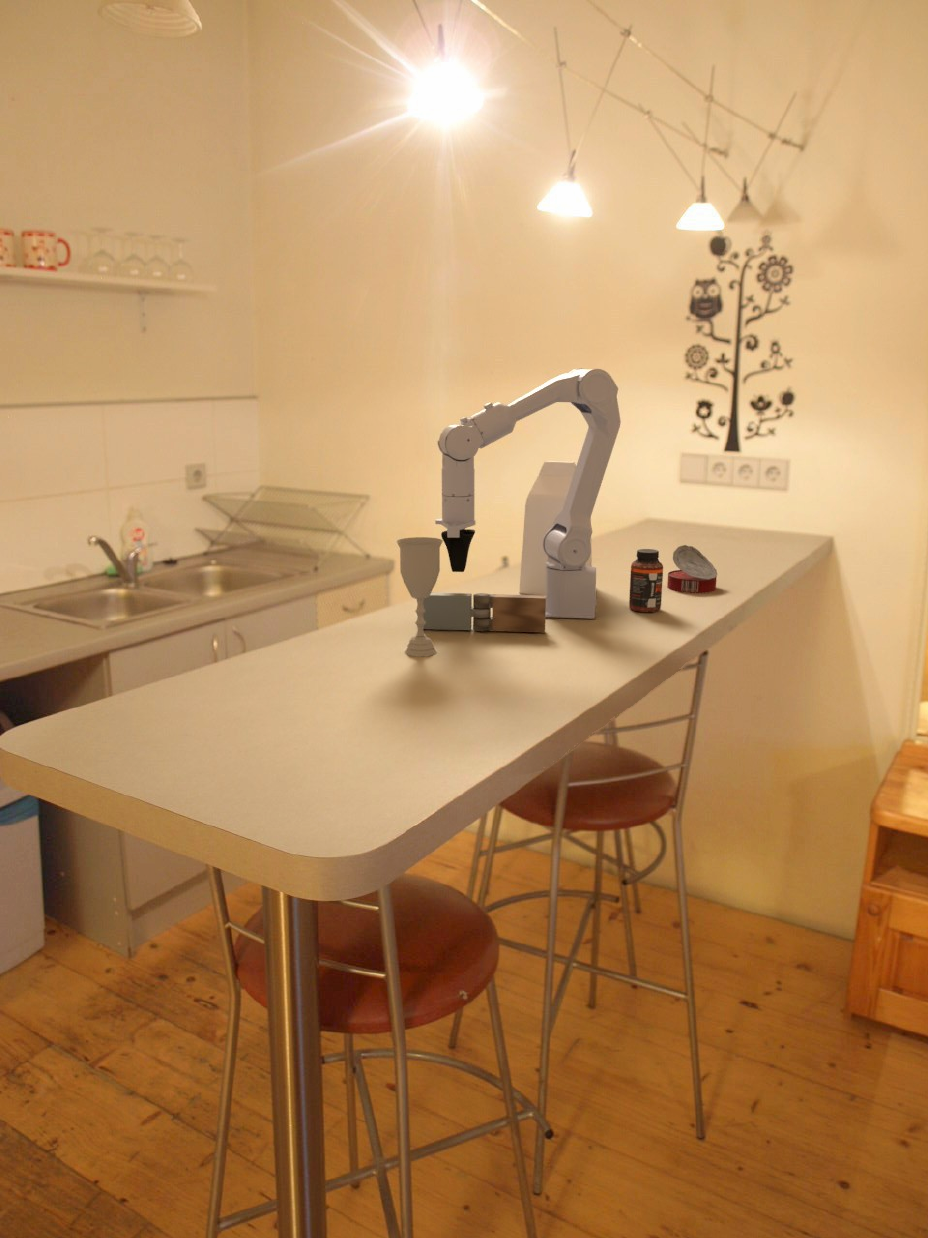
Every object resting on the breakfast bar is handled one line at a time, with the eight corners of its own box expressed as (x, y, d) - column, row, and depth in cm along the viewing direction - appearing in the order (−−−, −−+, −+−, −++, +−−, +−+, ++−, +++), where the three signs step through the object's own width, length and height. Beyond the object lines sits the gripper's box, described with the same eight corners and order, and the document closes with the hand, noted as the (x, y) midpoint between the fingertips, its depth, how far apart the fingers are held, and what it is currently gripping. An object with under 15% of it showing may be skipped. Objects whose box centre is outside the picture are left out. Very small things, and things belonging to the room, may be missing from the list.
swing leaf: (491, 626, 174) (491, 593, 172) (489, 631, 171) (490, 597, 169) (420, 625, 175) (420, 591, 173) (418, 629, 172) (417, 595, 171)
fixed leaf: (545, 628, 173) (546, 595, 171) (544, 633, 170) (545, 598, 168) (474, 626, 174) (474, 592, 173) (472, 630, 171) (472, 596, 170)
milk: (519, 593, 201) (521, 463, 195) (537, 581, 211) (539, 458, 205) (576, 598, 197) (581, 465, 190) (592, 586, 207) (596, 460, 200)
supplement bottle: (660, 614, 184) (664, 554, 181) (628, 612, 185) (630, 552, 183) (661, 606, 190) (664, 548, 187) (629, 605, 191) (632, 546, 188)
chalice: (408, 660, 155) (407, 546, 151) (391, 649, 161) (389, 539, 157) (450, 654, 159) (450, 542, 154) (432, 643, 164) (431, 535, 160)
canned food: (700, 605, 211) (725, 564, 209) (707, 612, 201) (733, 568, 200) (653, 579, 211) (678, 538, 210) (658, 584, 201) (683, 541, 200)
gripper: (441, 489, 182) (441, 562, 185) (429, 500, 168) (430, 579, 171) (479, 489, 181) (479, 563, 184) (471, 500, 167) (471, 580, 170)
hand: (458, 571), depth 178 cm, fingers closed
